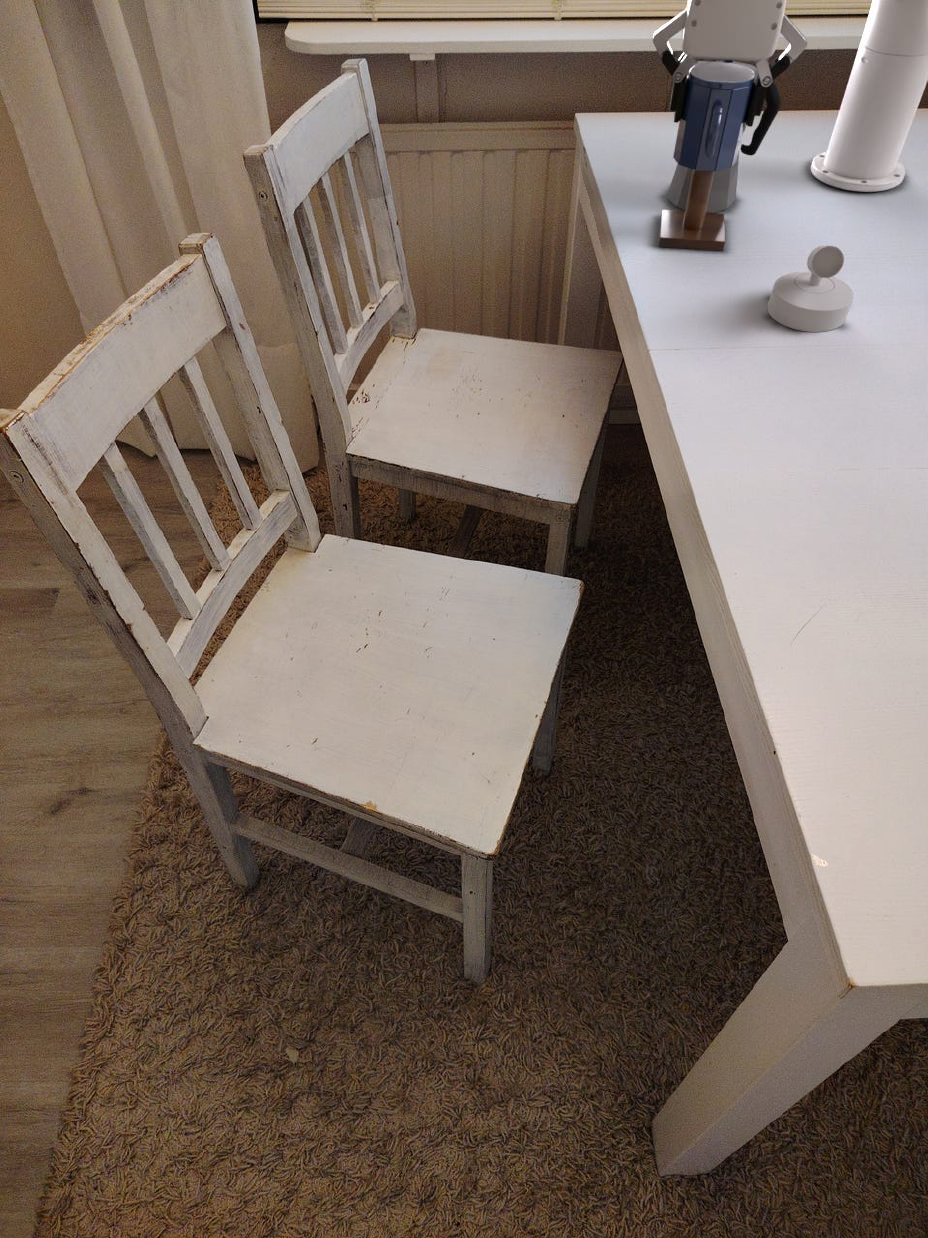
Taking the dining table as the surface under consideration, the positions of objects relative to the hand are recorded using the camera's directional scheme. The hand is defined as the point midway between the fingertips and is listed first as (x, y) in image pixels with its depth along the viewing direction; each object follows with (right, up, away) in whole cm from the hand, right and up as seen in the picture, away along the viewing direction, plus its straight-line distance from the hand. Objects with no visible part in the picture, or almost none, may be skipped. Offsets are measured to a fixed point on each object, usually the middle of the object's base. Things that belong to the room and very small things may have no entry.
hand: (712, 119), depth 93 cm
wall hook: (+10, -24, -2) cm, 26 cm away
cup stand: (0, -8, +10) cm, 13 cm away
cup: (0, -3, +3) cm, 4 cm away
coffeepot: (+4, -1, +17) cm, 17 cm away
